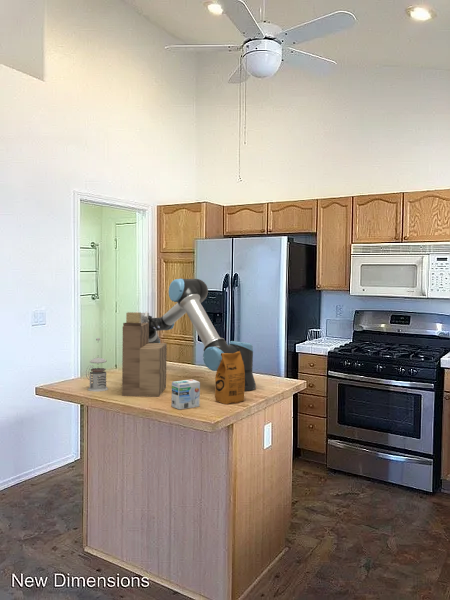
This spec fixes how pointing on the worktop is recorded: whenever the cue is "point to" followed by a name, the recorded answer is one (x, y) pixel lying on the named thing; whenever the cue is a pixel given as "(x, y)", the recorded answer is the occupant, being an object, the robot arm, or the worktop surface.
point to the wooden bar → (136, 317)
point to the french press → (97, 375)
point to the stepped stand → (142, 362)
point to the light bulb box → (185, 394)
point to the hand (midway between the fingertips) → (141, 313)
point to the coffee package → (230, 379)
